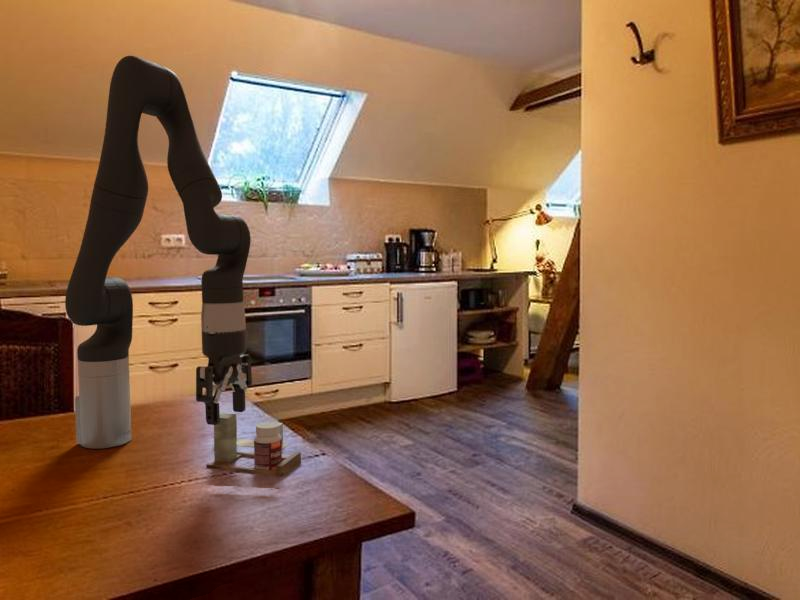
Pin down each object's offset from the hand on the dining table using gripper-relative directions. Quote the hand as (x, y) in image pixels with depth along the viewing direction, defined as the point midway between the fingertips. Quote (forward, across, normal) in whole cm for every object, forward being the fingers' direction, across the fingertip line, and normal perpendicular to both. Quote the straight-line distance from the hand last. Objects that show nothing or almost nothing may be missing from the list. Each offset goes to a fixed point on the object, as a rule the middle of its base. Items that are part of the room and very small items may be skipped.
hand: (226, 417), depth 108 cm
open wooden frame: (+9, 0, +5) cm, 11 cm away
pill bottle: (+9, 0, +8) cm, 12 cm away
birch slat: (+9, -10, -1) cm, 13 cm away
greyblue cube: (+8, -10, +3) cm, 13 cm away
